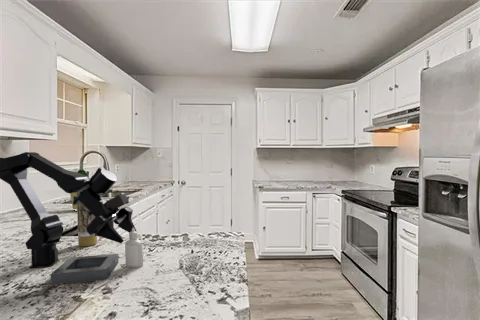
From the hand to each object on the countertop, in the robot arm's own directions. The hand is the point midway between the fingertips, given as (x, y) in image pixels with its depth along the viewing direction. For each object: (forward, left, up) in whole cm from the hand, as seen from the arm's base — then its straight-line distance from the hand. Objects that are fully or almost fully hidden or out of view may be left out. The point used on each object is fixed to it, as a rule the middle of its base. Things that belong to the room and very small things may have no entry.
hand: (129, 238), depth 96 cm
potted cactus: (-55, +132, -9) cm, 143 cm away
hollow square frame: (-12, -3, -9) cm, 15 cm away
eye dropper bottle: (+1, 0, -9) cm, 9 cm away
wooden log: (-22, +32, -9) cm, 39 cm away
